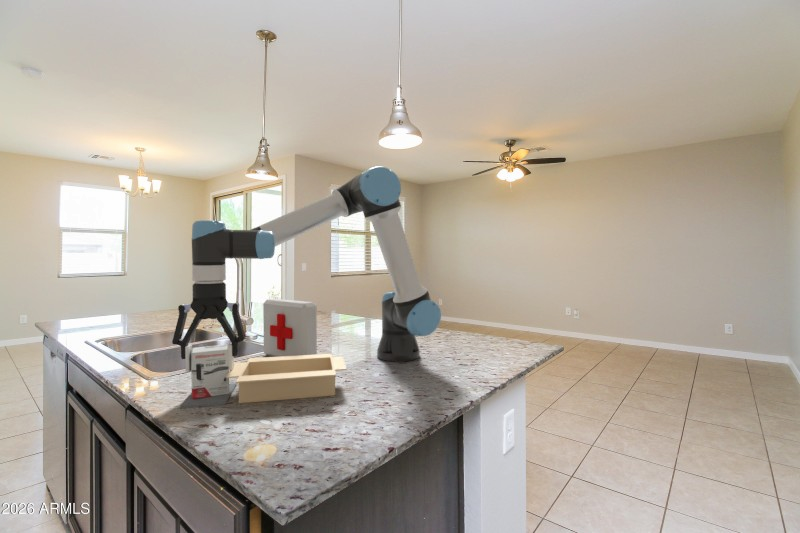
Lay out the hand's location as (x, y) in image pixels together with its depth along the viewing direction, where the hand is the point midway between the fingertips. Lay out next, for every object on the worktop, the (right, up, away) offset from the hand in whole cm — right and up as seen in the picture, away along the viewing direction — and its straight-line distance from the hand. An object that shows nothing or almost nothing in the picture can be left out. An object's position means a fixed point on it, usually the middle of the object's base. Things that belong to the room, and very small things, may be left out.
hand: (210, 369), depth 96 cm
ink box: (0, -6, 0) cm, 6 cm away
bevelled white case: (+9, -6, +35) cm, 37 cm away
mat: (0, -7, 0) cm, 7 cm away
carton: (+19, -7, +5) cm, 21 cm away
